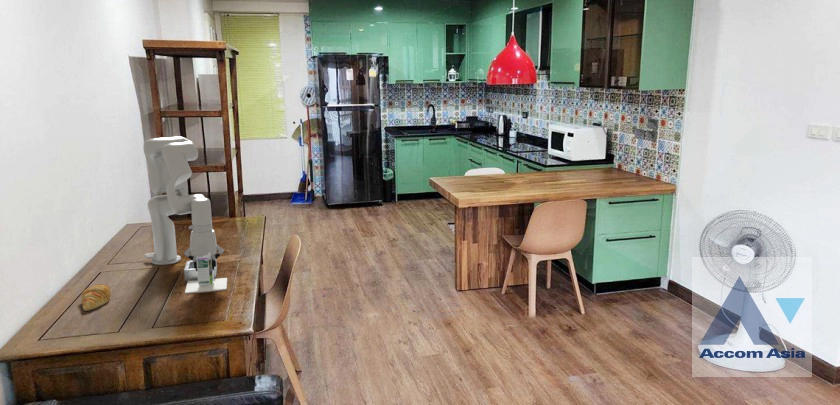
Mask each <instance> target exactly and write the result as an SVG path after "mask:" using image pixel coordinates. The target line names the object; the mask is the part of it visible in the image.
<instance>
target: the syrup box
mask: <svg viewBox="0 0 840 405" xmlns="http://www.w3.org/2000/svg"><path fill="white" fill-rule="evenodd" d="M196 260H197V271H198V285H208V284H213V281H214V273H213V269H212V256H211V254H210V252H209V253H208V254H207V255H202V256H196Z"/></svg>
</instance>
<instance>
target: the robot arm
mask: <svg viewBox="0 0 840 405" xmlns="http://www.w3.org/2000/svg"><path fill="white" fill-rule="evenodd" d="M142 149H143V153H144V156H145V158H146V161H147V163H148V173H149V174H148V176H149V177H148V178H149V185H150V186H149V187H150V190H151V192H152V193H154V194H162V195H156V196H152V197H151V198H149V200H148V201H147V209H148V212H149V217H150V220H151V221H150V222H151V229H152V239H153V248H154V252H151V253H144V259H148V260H150V259H151V263H152V264H154V265H158V266H166V265H172V264H176V263H179V262H180V261H181V260H182V257H181V255H178V251H177V238H176V228H175V227H176V226H175V223H174V221H173V220H172V219H170V218H169V216H172V215H179V216H181V215H187V214H191V223H192V224H190V225H188V229H189V230H191V231H190V237H189V238H190V239H189V241H190V242H189V247H188V248H187V249H186V250H185V252H184V253H183V255H184V256H185V257H188V259H190V261H193V262H194V269H196V271H197V260H196V256H202V255H207V254H208V253H209V252H210V254H211V256H212V269H213V270H214V268H215V267H216V262H217V259H218V258H219V257H220V256H221V255H222V254H223V253H224V248H222V247H221V246H220V245H218V244H217V238H216V232H215V229H213V222H212V206H211V205H212V204H211V200H210V198H208V197H206V196H205V195H204V194H202V193H195V194H189V185H188V180H189V179H190V178H191V176H192V175H193V171H192V169H191V167H190V164H189V162H191V161H195V160H197V159H198V157H199V150H198V148H197V145H196V143H194V142H193V141H192V140H190V139H188V138H187V137H183V136H169V137H154V138H149V139H146V140H145V141H144V142H143V148H142Z"/></svg>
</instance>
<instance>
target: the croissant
mask: <svg viewBox="0 0 840 405" xmlns="http://www.w3.org/2000/svg"><path fill="white" fill-rule="evenodd" d="M111 294H112V292H111V288H110V286H109V285H108V284H103V283H99V284H93V285H91V286H89V287H87V288H85V289H84V290H83V291H82V292H81V294H80V297H81V298H80V299H81V303H82V304H81V305H82V309H83V310H84V311H85V312H86V311H91V310H94V309H97V308H99V307H101V306H103V305H106V304H107V303H109V300H110V298H111Z"/></svg>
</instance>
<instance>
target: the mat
mask: <svg viewBox="0 0 840 405" xmlns="http://www.w3.org/2000/svg"><path fill="white" fill-rule="evenodd" d="M186 282H187V283H186V286H185V291H184V294H185V295H189V294H197V293H207V292H208V293H209V292H210V293H211V292H218V291H219V292H221V291H227V289H228V278H227V277H221V278H216V279H214V281H213V284H208V285H198V280H195V281H186Z"/></svg>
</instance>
